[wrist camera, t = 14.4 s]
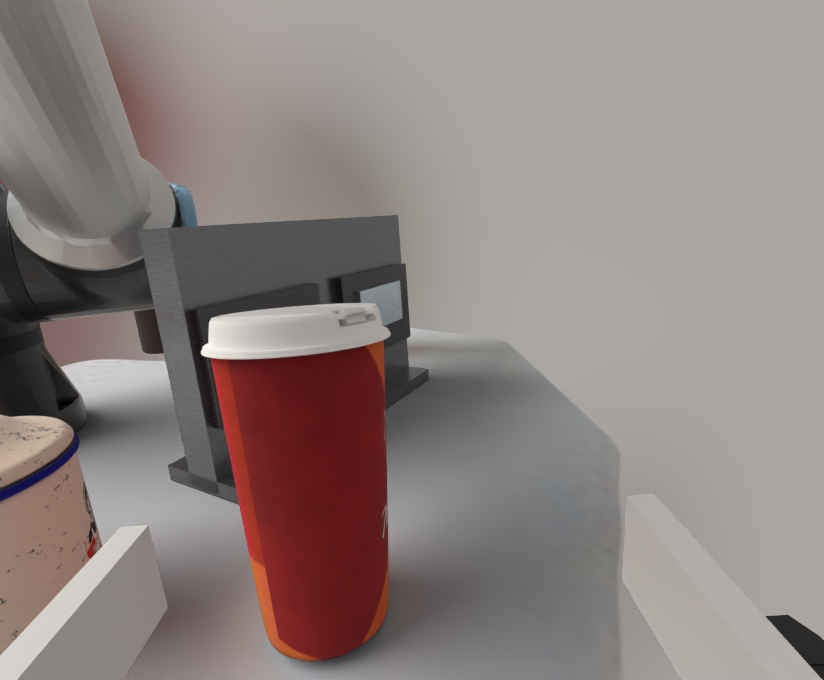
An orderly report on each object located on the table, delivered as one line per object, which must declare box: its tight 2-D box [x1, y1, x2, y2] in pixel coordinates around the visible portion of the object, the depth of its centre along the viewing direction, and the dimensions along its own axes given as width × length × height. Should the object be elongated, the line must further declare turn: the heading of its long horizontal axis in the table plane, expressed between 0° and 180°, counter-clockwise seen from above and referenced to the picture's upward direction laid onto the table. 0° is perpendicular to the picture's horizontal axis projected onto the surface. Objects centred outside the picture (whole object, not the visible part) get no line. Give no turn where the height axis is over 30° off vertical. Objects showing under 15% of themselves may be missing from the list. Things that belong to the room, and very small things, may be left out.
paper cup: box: [201, 303, 391, 661], centre depth 20 cm, size 8×8×14 cm
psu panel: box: [138, 215, 429, 504], centre depth 41 cm, size 8×26×18 cm, turn 150°
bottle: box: [134, 309, 164, 354], centre depth 72 cm, size 7×7×20 cm
